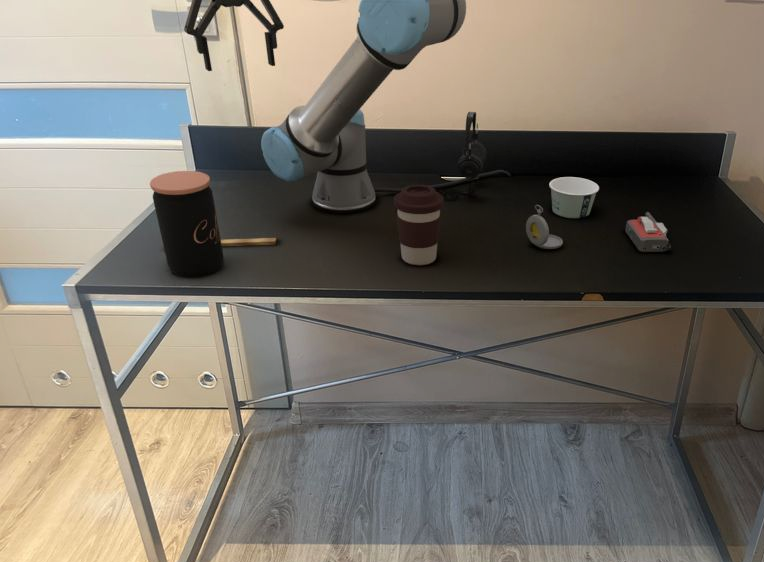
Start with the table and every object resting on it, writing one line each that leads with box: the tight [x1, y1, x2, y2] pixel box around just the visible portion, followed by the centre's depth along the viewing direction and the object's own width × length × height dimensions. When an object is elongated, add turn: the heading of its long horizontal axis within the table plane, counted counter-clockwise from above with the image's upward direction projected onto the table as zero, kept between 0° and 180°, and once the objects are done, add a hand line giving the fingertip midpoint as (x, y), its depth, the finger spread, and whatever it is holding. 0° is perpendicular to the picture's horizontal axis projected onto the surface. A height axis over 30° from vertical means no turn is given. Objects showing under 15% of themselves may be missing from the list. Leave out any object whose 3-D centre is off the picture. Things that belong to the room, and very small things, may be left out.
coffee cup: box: [393, 184, 444, 266], centre depth 143 cm, size 10×10×15 cm
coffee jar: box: [149, 170, 225, 278], centre depth 136 cm, size 11×11×18 cm
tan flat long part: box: [221, 237, 277, 247], centre depth 150 cm, size 22×3×1 cm, turn 99°
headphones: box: [439, 111, 488, 201], centre depth 175 cm, size 15×11×20 cm
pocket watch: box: [525, 204, 564, 250], centre depth 152 cm, size 8×8×10 cm
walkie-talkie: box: [625, 211, 672, 253], centre depth 160 cm, size 9×4×20 cm
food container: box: [548, 176, 600, 219], centre depth 170 cm, size 12×12×6 cm
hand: (241, 67), depth 152 cm, fingers open, 13 cm apart
